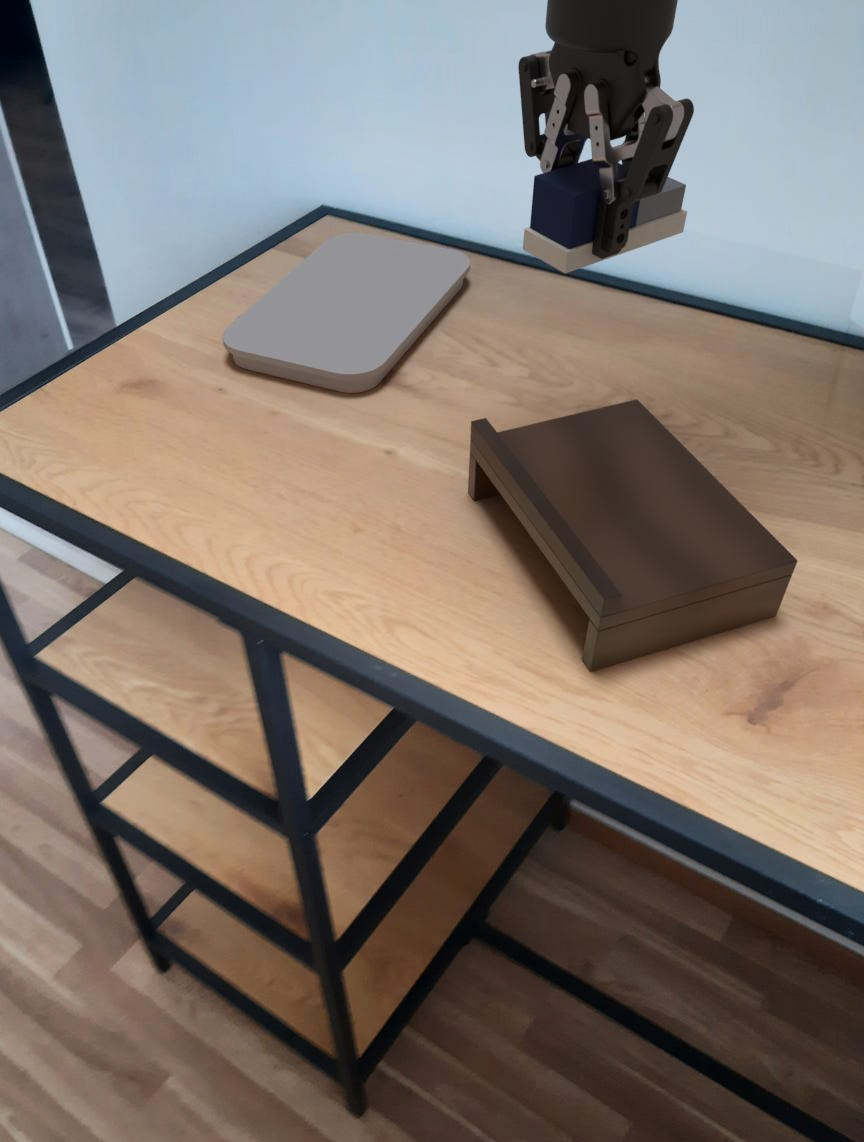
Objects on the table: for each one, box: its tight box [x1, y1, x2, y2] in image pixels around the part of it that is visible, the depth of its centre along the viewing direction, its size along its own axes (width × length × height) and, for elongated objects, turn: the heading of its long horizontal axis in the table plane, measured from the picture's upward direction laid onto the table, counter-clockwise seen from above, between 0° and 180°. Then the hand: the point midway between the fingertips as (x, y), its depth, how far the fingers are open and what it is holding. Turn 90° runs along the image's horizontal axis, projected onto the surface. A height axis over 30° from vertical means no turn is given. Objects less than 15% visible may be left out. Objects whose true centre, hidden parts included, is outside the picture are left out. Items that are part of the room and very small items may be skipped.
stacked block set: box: [522, 158, 688, 274], centre depth 65 cm, size 11×5×5 cm, turn 123°
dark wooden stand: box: [467, 398, 798, 672], centre depth 66 cm, size 14×20×6 cm
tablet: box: [221, 232, 471, 394], centre depth 92 cm, size 16×26×2 cm, turn 155°
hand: (581, 239), depth 65 cm, fingers closed on stacked block set, 4 cm apart
